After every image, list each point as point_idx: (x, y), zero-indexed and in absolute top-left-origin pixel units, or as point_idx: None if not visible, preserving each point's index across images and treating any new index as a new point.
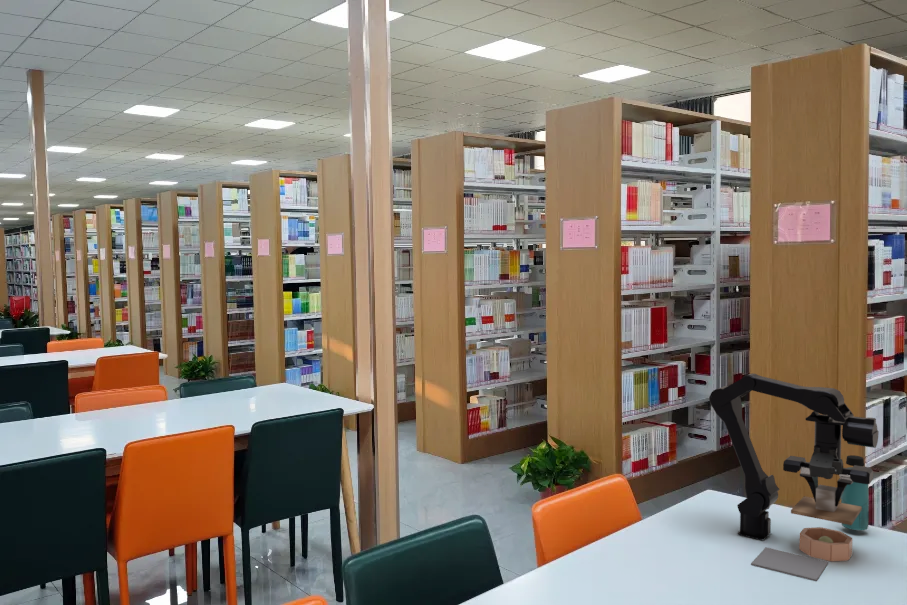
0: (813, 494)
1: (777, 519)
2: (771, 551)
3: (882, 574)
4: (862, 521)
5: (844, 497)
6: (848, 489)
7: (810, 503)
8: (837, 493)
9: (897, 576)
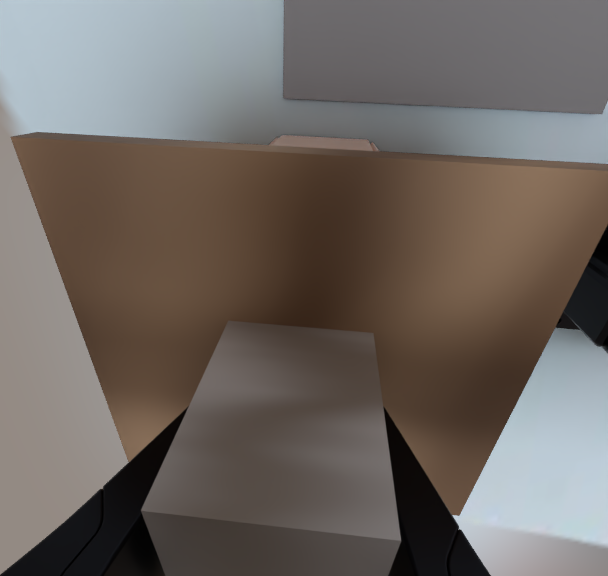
0: (414, 468)
1: (499, 445)
2: (576, 61)
3: (69, 110)
4: None
5: None
6: None
7: (417, 423)
8: (134, 500)
9: (23, 126)
